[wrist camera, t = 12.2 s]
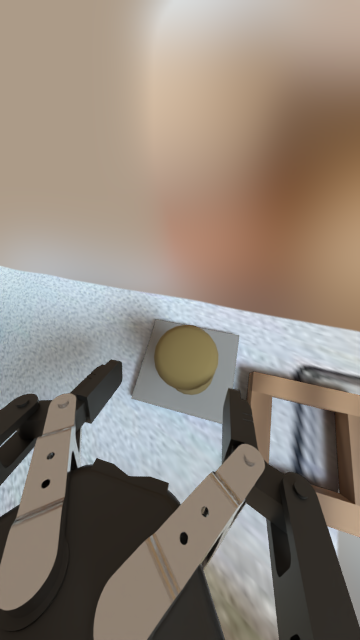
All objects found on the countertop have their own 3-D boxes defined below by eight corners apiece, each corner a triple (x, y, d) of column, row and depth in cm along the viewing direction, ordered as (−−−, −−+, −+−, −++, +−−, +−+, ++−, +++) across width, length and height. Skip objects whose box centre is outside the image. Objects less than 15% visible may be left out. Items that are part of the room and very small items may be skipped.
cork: (222, 363, 23) (242, 339, 13) (197, 405, 21) (197, 417, 11) (183, 338, 25) (174, 301, 15) (158, 376, 23) (127, 363, 13)
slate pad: (134, 398, 23) (131, 398, 22) (157, 321, 27) (155, 319, 26) (226, 424, 21) (228, 425, 20) (237, 337, 25) (239, 335, 24)
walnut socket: (238, 486, 19) (242, 496, 17) (249, 373, 23) (253, 371, 21) (367, 530, 17) (387, 547, 15) (354, 396, 21) (369, 397, 19)
